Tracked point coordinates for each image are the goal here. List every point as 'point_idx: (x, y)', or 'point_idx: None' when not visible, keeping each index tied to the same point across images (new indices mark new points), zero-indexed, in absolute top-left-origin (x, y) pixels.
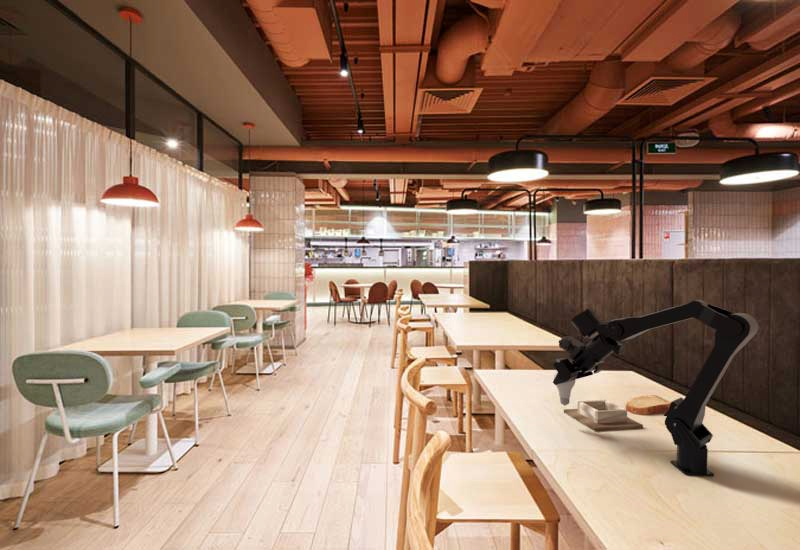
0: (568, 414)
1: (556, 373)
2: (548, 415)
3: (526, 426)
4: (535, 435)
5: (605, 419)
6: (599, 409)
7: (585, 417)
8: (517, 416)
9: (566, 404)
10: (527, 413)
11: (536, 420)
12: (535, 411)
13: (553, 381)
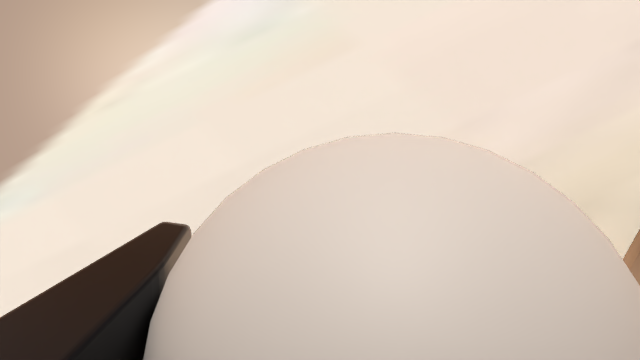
0: (626, 260)
1: (225, 225)
2: (490, 149)
3: (140, 142)
4: (11, 272)
5: None
6: None
7: None
8: (287, 4)
9: None
10: (403, 22)
11: (313, 135)
12: (493, 42)
13: (148, 236)
